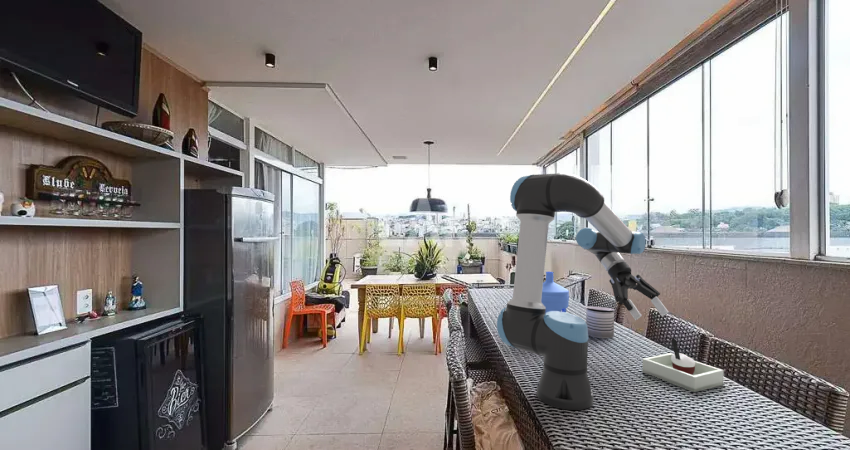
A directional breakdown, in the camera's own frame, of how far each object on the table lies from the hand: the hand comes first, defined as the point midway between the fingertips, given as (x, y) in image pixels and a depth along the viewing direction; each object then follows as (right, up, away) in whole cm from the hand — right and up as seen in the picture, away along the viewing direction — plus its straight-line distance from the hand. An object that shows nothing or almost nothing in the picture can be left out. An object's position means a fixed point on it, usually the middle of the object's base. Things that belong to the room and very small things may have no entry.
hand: (652, 316), depth 140 cm
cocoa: (+5, -17, -9) cm, 20 cm away
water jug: (-26, -17, +32) cm, 44 cm away
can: (-1, -17, +39) cm, 43 cm away
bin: (+4, -18, -9) cm, 20 cm away
